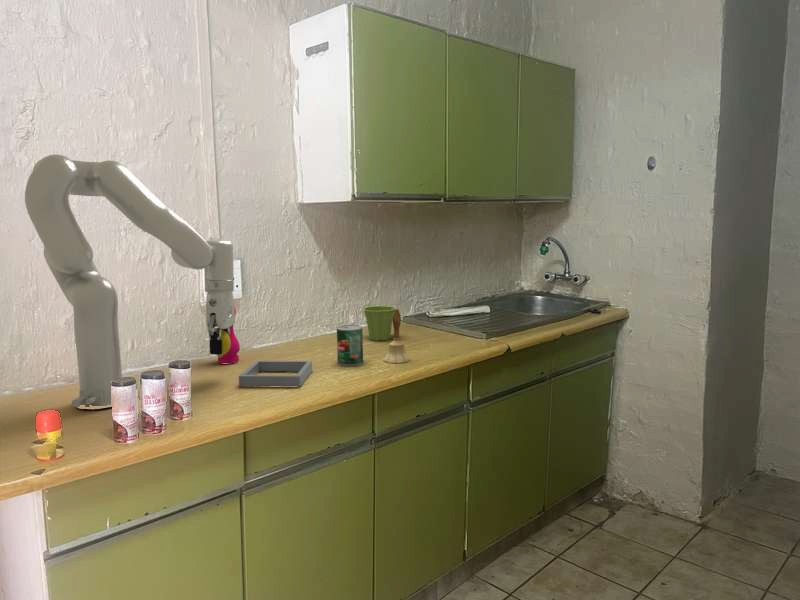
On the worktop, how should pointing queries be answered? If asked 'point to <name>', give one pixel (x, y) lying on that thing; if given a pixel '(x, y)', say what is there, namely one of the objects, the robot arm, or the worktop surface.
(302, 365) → the box
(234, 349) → the pepper mill
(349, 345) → the canned tomato
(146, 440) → the worktop surface
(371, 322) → the plant pot
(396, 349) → the hand bell
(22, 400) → the worktop surface
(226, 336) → the lemon
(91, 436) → the worktop surface
